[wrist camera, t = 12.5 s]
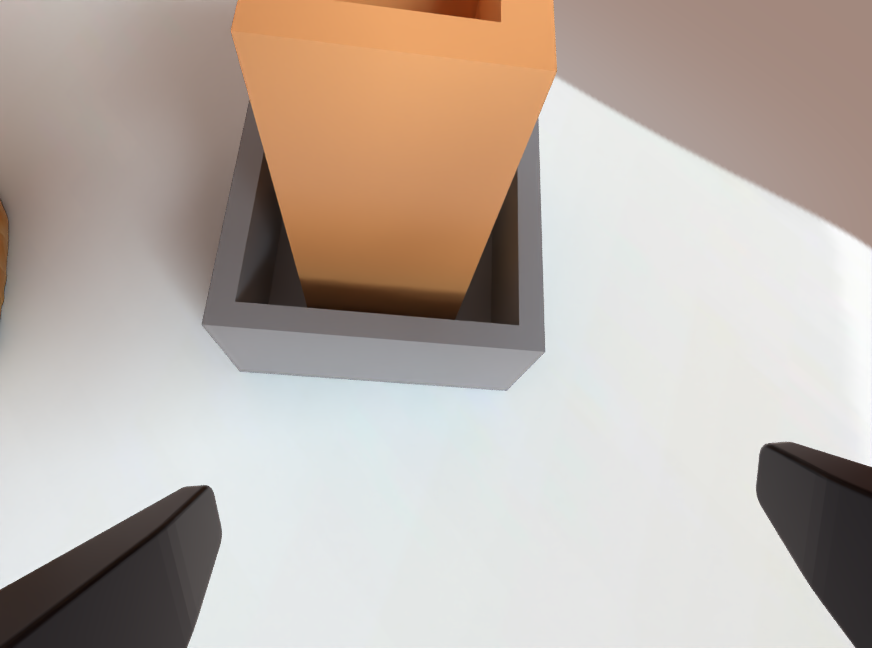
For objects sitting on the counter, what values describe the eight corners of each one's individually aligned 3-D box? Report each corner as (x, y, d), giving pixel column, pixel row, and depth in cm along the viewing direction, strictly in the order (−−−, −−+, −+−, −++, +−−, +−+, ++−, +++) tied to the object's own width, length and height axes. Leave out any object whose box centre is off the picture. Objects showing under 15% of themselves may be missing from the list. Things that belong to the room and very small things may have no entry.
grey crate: (506, 390, 21) (545, 351, 17) (239, 371, 20) (201, 324, 16) (506, 173, 25) (537, 92, 20) (279, 148, 24) (258, 57, 19)
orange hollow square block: (453, 322, 21) (556, 71, 10) (308, 310, 21) (230, 30, 9) (457, 200, 23) (546, -130, 12) (325, 186, 23) (278, -173, 11)
